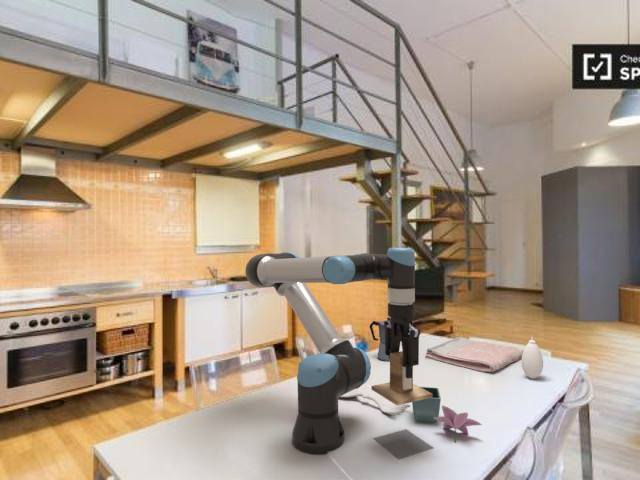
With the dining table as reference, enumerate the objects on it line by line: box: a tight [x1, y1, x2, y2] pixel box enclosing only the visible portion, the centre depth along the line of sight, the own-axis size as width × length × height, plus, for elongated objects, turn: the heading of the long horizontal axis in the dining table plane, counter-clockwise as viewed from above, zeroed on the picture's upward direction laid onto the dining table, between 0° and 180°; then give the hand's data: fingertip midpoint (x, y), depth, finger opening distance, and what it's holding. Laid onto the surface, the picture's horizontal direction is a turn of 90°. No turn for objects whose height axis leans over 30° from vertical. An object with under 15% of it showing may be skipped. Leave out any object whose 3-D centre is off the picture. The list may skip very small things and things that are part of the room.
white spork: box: [339, 389, 411, 416], centre depth 138 cm, size 9×32×4 cm, turn 45°
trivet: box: [372, 428, 434, 460], centre depth 110 cm, size 12×12×1 cm
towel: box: [424, 336, 524, 373], centre depth 189 cm, size 36×34×6 cm
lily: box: [434, 405, 483, 444], centre depth 113 cm, size 12×12×10 cm
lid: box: [371, 350, 433, 405], centre depth 110 cm, size 12×12×11 cm
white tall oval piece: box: [521, 335, 544, 380], centre depth 161 cm, size 8×8×18 cm
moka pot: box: [369, 316, 391, 362], centre depth 189 cm, size 10×15×20 cm, turn 89°
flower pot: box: [411, 386, 442, 424], centre depth 125 cm, size 9×9×9 cm
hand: (401, 385), depth 110 cm, fingers closed on lid, 4 cm apart
